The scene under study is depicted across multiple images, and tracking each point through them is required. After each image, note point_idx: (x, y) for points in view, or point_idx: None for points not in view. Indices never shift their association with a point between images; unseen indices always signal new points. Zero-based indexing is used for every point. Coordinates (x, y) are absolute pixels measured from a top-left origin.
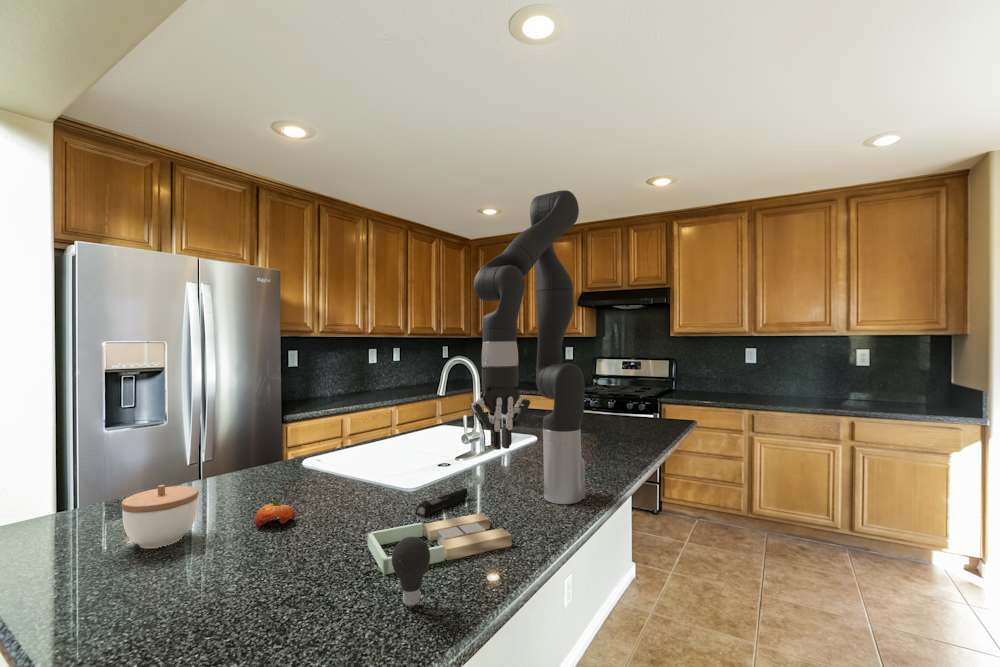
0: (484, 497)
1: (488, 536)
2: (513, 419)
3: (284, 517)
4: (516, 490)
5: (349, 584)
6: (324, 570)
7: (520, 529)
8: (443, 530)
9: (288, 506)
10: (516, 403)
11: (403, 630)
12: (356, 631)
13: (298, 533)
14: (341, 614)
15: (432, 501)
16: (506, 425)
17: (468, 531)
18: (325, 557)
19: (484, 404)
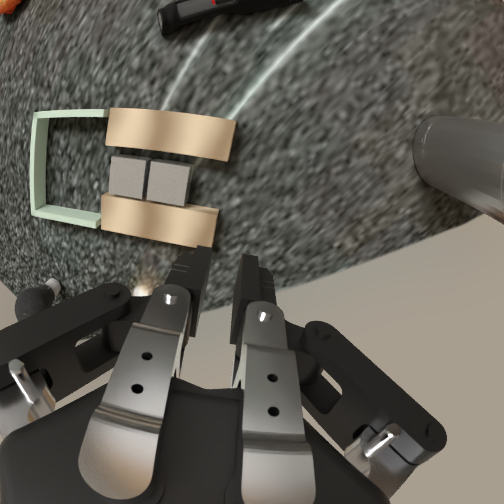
0: (338, 20)
1: (174, 230)
2: (310, 366)
3: (8, 10)
4: (414, 48)
5: (18, 207)
6: (5, 159)
7: (272, 201)
8: (120, 163)
9: None
10: (387, 435)
11: None
12: (24, 283)
13: (17, 33)
14: (15, 254)
15: (192, 5)
16: (233, 360)
17: (153, 194)
18: (10, 123)
19: (51, 415)
